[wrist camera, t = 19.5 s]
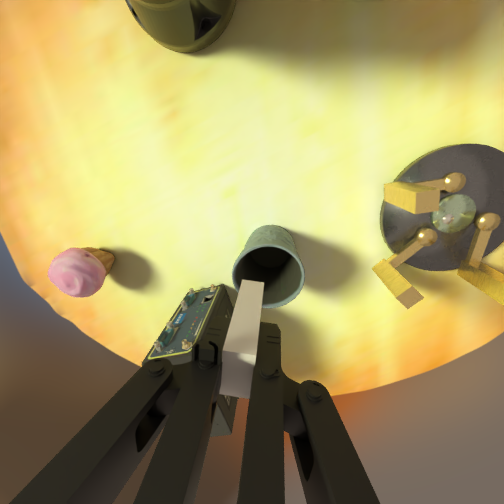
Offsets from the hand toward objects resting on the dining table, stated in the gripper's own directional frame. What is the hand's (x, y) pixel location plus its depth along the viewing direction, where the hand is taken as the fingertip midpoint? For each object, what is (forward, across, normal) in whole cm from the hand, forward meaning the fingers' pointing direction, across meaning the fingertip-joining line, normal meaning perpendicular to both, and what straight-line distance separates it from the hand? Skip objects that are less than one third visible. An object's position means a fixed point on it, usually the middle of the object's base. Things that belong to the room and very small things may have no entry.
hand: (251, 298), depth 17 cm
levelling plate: (+28, +29, +3) cm, 40 cm away
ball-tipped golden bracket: (+26, +34, -1) cm, 43 cm away
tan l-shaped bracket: (+27, +23, +7) cm, 36 cm away
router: (+28, -7, -24) cm, 38 cm away
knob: (+26, +23, -4) cm, 35 cm away
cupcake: (+28, -32, -14) cm, 45 cm away
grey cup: (+29, +1, -7) cm, 29 cm away
